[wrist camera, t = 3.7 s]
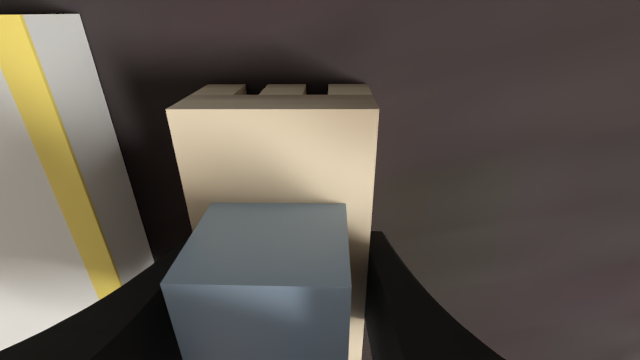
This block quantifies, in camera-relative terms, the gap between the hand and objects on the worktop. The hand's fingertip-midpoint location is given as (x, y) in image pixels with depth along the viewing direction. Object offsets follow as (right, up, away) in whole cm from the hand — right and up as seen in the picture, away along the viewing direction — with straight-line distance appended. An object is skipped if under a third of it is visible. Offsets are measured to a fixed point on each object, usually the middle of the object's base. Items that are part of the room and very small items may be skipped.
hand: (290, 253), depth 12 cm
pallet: (0, +1, +1) cm, 2 cm away
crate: (0, -1, -1) cm, 2 cm away
